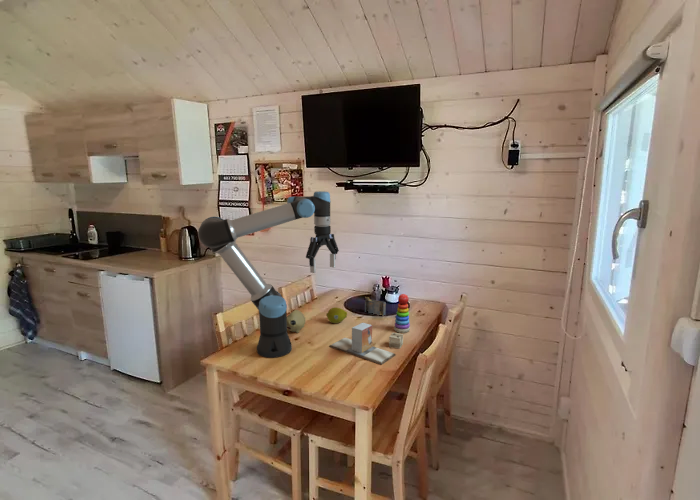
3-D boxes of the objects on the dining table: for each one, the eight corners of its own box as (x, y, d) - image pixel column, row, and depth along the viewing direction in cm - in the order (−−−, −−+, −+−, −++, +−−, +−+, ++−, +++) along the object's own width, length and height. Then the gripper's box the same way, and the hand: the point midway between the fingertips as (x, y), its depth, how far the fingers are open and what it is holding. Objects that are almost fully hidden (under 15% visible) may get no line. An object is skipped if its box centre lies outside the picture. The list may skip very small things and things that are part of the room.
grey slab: (364, 313, 230) (364, 296, 228) (367, 311, 232) (367, 295, 230) (383, 317, 224) (383, 300, 222) (385, 315, 227) (385, 298, 225)
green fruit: (324, 324, 213) (324, 309, 212) (328, 318, 221) (328, 304, 219) (344, 326, 211) (344, 311, 209) (348, 320, 218) (348, 306, 216)
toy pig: (278, 334, 201) (277, 313, 199) (292, 325, 211) (292, 305, 209) (295, 338, 196) (294, 316, 194) (309, 329, 207) (308, 308, 205)
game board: (381, 364, 170) (381, 362, 170) (329, 346, 187) (329, 344, 187) (395, 355, 179) (395, 353, 179) (344, 338, 196) (344, 336, 195)
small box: (361, 353, 178) (361, 330, 176) (351, 350, 181) (351, 327, 179) (372, 347, 184) (372, 324, 182) (362, 343, 188) (362, 322, 185)
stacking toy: (391, 331, 204) (392, 295, 200) (397, 326, 211) (398, 290, 207) (406, 334, 200) (407, 297, 197) (412, 328, 207) (413, 292, 204)
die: (399, 348, 185) (400, 338, 184) (389, 347, 187) (389, 336, 186) (402, 344, 190) (403, 334, 189) (392, 342, 192) (392, 332, 191)
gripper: (309, 229, 180) (310, 276, 184) (345, 223, 199) (345, 266, 203) (297, 227, 184) (298, 273, 189) (334, 221, 203) (334, 263, 208)
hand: (323, 269), depth 196 cm, fingers open, 13 cm apart
